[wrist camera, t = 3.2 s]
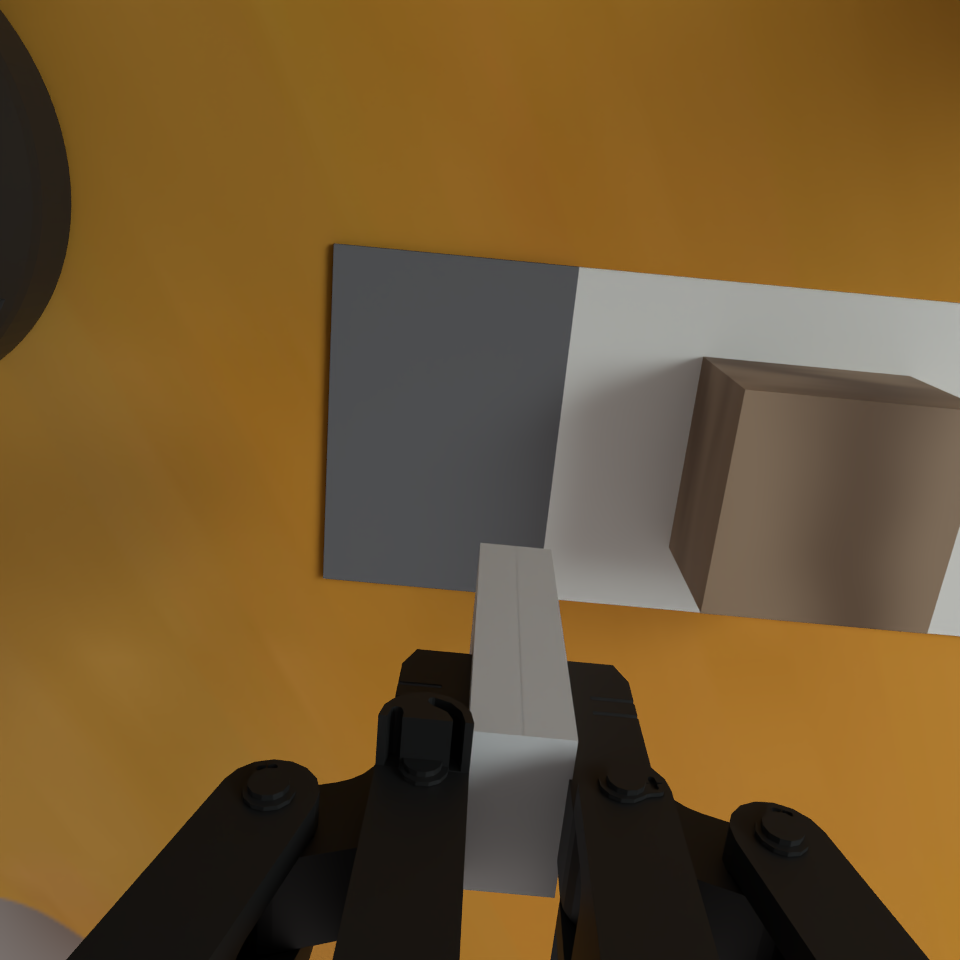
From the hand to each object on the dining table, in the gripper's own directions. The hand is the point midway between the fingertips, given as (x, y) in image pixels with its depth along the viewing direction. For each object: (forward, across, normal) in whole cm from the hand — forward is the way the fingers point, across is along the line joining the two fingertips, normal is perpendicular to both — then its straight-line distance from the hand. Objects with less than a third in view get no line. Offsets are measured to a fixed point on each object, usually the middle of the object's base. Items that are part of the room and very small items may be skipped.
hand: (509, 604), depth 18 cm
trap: (+12, -2, 0) cm, 12 cm away
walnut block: (+12, +10, 0) cm, 15 cm away
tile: (+12, +10, 0) cm, 16 cm away
